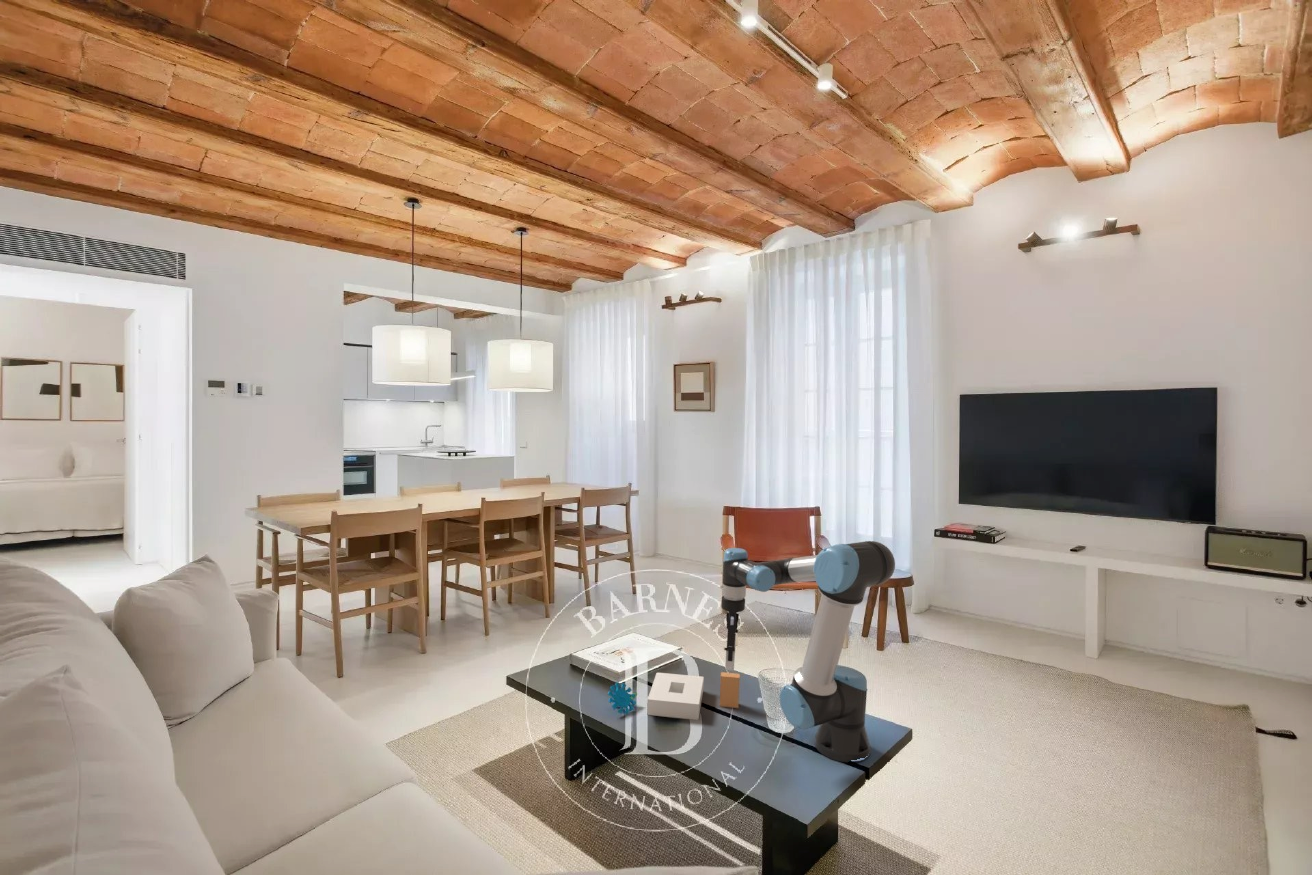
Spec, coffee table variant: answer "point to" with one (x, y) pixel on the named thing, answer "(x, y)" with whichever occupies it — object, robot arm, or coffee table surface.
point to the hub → (675, 696)
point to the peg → (729, 690)
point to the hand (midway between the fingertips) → (730, 661)
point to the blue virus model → (622, 698)
